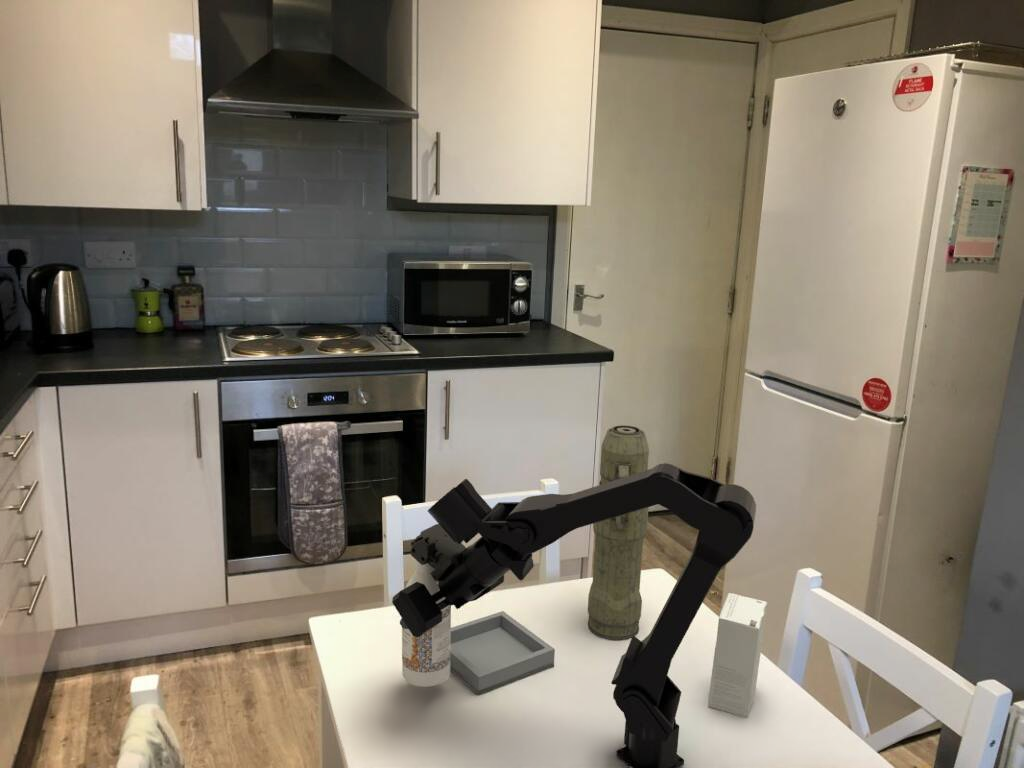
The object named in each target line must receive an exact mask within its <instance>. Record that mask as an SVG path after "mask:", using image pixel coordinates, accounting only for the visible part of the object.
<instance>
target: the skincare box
mask: <svg viewBox="0 0 1024 768" xmlns="http://www.w3.org/2000/svg"><path fill="white" fill-rule="evenodd" d="M767 608H768V601H764V600H760V599H757V598H753V597H752V598H751V597H747V596H743V595H740V594H736V593H731V592H728V594H727V596H726V599H725V601H724V604H723V606H722V608H721V611H720V613H719V617H718V623H717V632H716V640H715V641H716V642H715V648H714V656H713V661H712V662H713V663H712V669H711V670H712V671H711V677H710V685H709V686H710V687H709V692H708V702H707V706H708V707H709V708H713V709H715V710H719V711H723V712H726V713H729V714H732V715H736V716H740V717H744V718H749V714H750V713H751V712H750V711H751V708H752V705H753V701H754V696H755V690H756V689H757V681H758V676H759V675H758V674H759V669H760V668H759V666H760V661H761V654H762V645H763V640H764V639H763V638H764V632H765V631H764V630H765V623H766V617H767V610H768V609H767Z"/></svg>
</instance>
